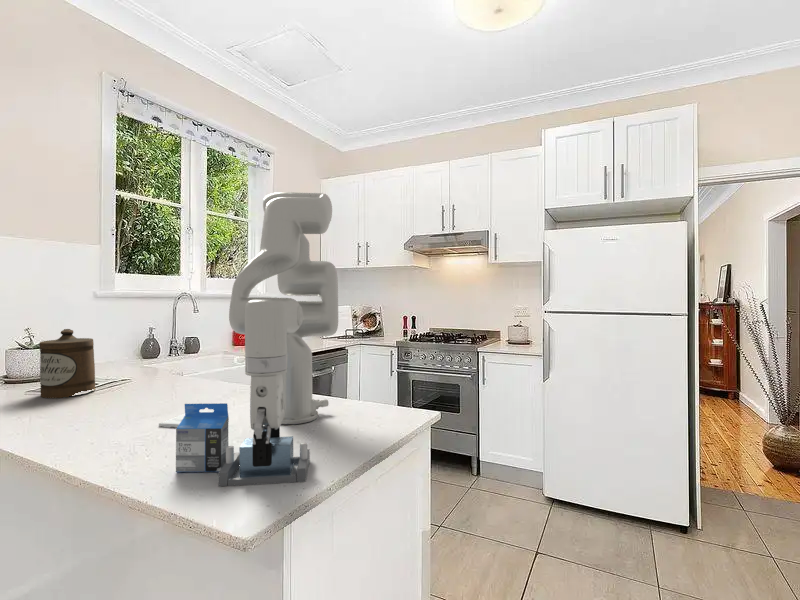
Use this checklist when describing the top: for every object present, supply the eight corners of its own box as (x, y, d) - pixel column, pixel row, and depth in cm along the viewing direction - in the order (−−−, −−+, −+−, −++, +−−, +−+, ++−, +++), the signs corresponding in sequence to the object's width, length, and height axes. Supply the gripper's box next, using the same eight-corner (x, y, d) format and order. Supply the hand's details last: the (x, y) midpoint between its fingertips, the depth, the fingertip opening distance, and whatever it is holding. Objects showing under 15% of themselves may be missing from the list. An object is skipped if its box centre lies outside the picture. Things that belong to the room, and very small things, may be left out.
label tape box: (174, 473, 82) (173, 408, 82) (185, 464, 86) (184, 403, 86) (221, 473, 82) (220, 408, 82) (229, 464, 86) (229, 402, 86)
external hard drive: (217, 417, 121) (186, 430, 109) (191, 415, 123) (158, 428, 111) (217, 411, 121) (186, 424, 109) (191, 409, 123) (158, 422, 111)
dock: (232, 465, 86) (232, 438, 86) (309, 461, 88) (309, 435, 88) (218, 486, 76) (218, 457, 76) (305, 481, 78) (305, 452, 78)
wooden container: (28, 397, 142) (27, 330, 142) (69, 388, 157) (68, 327, 157) (67, 399, 140) (66, 331, 140) (105, 389, 155) (104, 327, 154)
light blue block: (245, 469, 84) (244, 438, 84) (293, 466, 85) (293, 436, 85) (238, 480, 79) (238, 447, 79) (290, 477, 80) (290, 445, 80)
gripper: (280, 372, 74) (280, 473, 74) (292, 357, 91) (292, 439, 91) (234, 374, 73) (235, 475, 73) (255, 358, 90) (255, 441, 90)
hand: (267, 455), depth 82 cm, fingers open, 9 cm apart
